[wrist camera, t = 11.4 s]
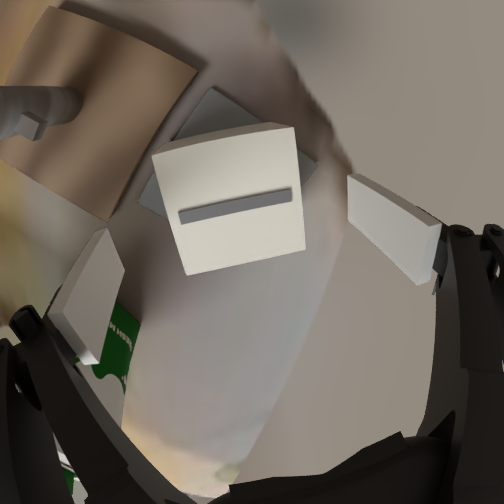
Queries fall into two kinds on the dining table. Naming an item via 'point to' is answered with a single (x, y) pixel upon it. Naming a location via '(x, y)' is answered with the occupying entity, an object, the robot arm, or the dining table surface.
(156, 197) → the mat
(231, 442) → the dining table surface
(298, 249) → the white drawer box
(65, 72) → the post stand
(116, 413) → the milk carton
